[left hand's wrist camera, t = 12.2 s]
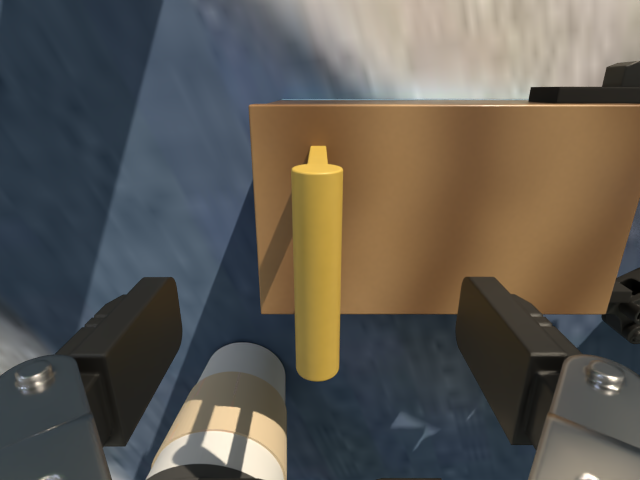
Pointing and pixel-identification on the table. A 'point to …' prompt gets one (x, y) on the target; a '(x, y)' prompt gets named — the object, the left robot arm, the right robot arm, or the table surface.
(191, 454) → the coffee cup
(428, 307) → the lid
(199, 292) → the table surface
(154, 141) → the table surface
